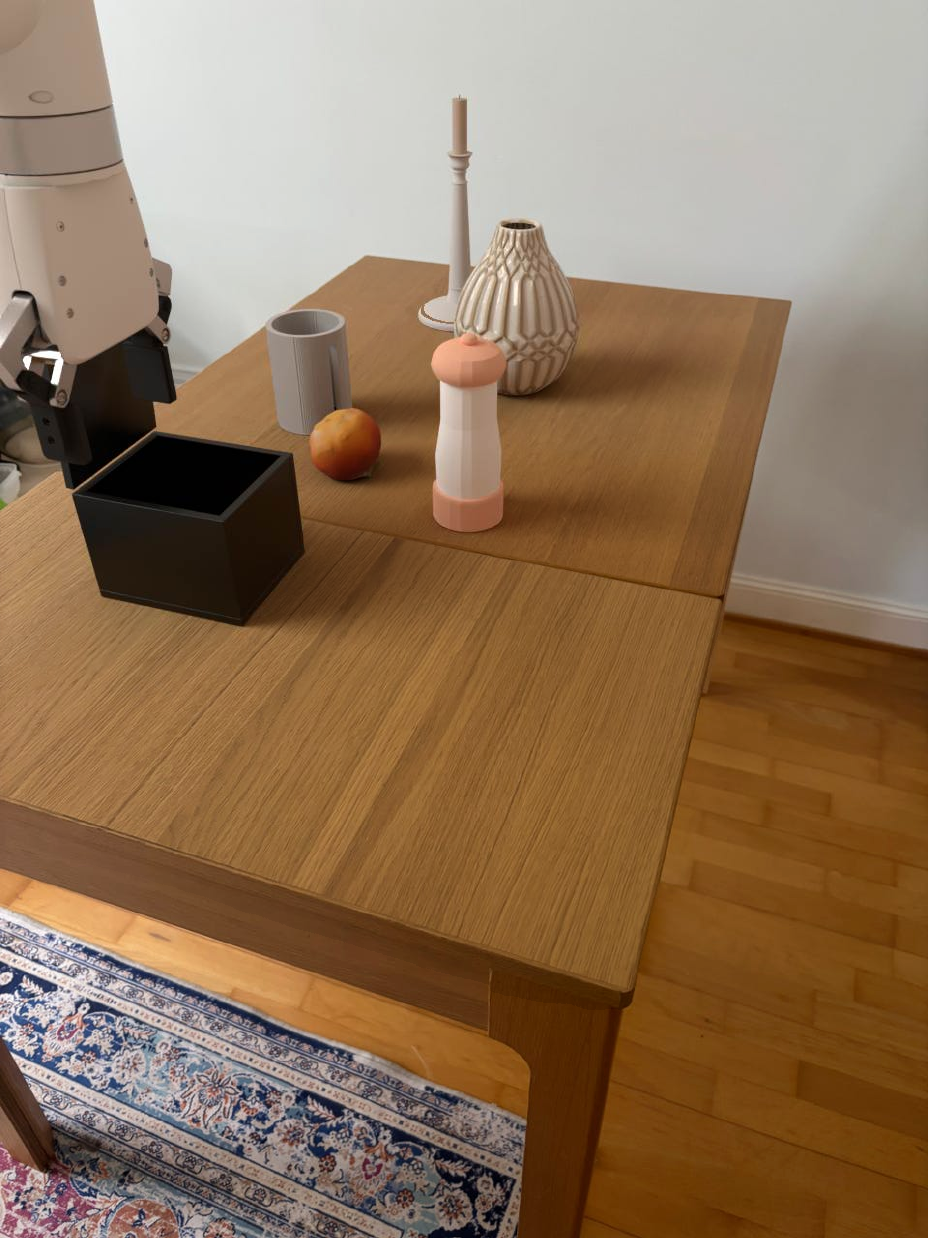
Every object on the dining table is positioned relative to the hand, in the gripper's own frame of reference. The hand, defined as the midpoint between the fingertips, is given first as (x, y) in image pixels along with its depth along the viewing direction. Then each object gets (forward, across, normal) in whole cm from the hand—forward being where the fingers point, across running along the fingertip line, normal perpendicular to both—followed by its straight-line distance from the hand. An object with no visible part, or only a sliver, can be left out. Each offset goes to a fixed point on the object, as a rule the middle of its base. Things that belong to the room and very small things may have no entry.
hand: (114, 428), depth 63 cm
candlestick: (+21, -89, -4) cm, 91 cm away
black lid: (+4, -15, -12) cm, 20 cm away
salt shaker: (+22, -34, +14) cm, 43 cm away
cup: (+22, -50, -10) cm, 55 cm away
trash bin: (+23, -16, -6) cm, 28 cm away
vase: (+22, -67, +10) cm, 72 cm away
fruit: (+22, -39, -2) cm, 45 cm away
